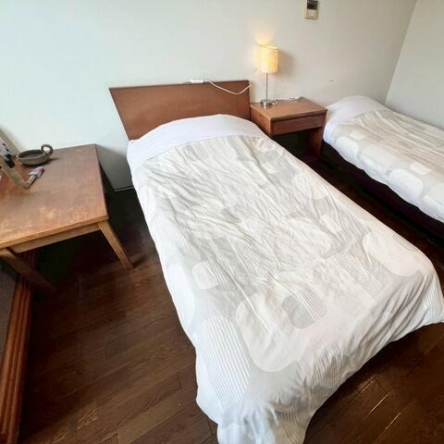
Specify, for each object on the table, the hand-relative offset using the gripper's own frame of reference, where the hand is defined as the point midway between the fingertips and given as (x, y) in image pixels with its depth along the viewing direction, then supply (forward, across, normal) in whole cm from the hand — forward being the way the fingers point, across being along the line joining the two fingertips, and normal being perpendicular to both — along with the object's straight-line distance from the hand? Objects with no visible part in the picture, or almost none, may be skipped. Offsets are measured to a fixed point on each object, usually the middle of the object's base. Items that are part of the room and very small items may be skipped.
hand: (7, 166), depth 116 cm
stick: (+11, 0, 0) cm, 11 cm away
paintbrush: (+17, -4, +16) cm, 23 cm away
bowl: (+17, -8, +35) cm, 39 cm away
